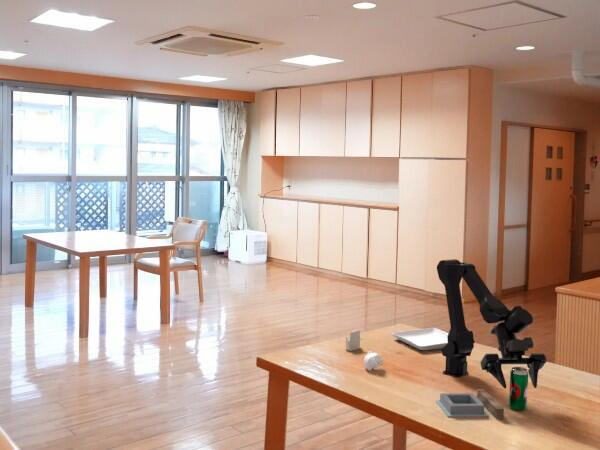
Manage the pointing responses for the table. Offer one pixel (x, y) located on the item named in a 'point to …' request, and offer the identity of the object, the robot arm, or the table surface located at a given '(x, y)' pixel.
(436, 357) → the table surface
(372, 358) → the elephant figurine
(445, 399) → the socket
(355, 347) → the architectural model
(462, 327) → the robot arm
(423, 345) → the salad plate
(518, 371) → the soda can
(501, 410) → the long brown rectangular bar
